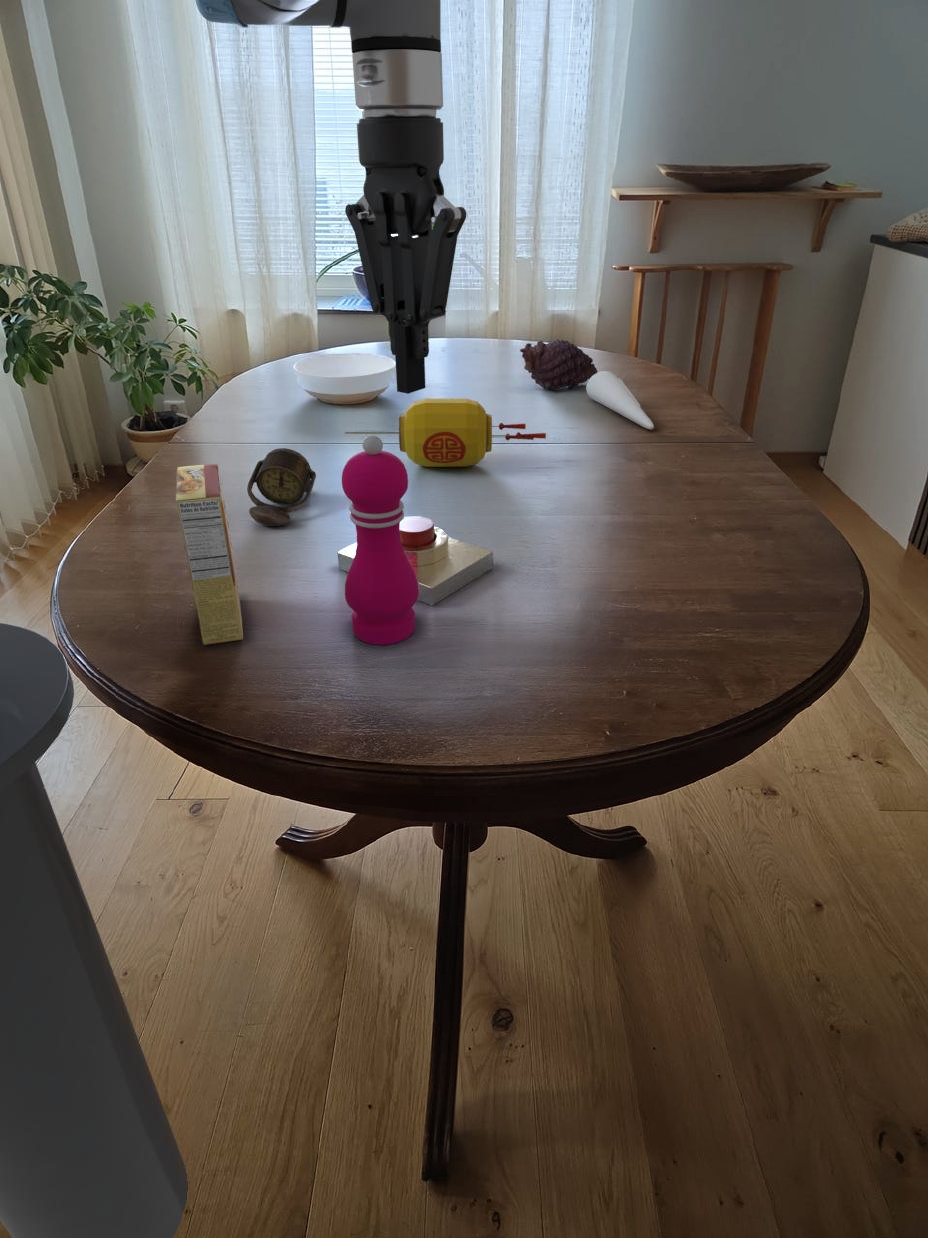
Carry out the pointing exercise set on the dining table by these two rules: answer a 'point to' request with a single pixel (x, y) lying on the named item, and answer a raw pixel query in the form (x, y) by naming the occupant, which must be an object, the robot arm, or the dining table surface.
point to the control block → (438, 565)
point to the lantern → (448, 432)
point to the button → (416, 531)
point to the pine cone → (557, 364)
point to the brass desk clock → (280, 486)
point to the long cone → (616, 397)
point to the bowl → (345, 376)
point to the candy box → (209, 552)
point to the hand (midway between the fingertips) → (411, 389)
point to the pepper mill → (379, 547)
